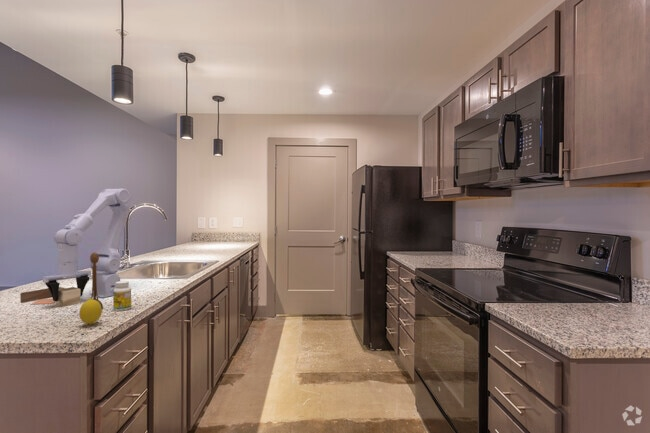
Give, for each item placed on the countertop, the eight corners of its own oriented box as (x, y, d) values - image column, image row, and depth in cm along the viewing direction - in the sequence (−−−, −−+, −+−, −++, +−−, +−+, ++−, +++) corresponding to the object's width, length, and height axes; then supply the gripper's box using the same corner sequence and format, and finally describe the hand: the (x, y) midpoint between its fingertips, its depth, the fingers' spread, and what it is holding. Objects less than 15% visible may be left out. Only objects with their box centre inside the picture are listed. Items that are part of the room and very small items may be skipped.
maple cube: (80, 303, 124) (80, 288, 124) (63, 307, 119) (63, 291, 119) (73, 301, 126) (72, 287, 126) (55, 305, 122) (55, 290, 122)
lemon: (86, 322, 104) (86, 296, 104) (105, 321, 104) (105, 296, 104) (75, 328, 98) (75, 301, 98) (94, 327, 99) (94, 301, 98)
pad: (62, 298, 130) (62, 297, 130) (52, 303, 123) (52, 302, 123) (40, 299, 128) (40, 299, 128) (30, 304, 121) (30, 304, 121)
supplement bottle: (134, 307, 119) (134, 281, 119) (121, 312, 114) (121, 284, 114) (123, 306, 121) (123, 279, 120) (109, 310, 116) (109, 282, 115)
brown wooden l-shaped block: (75, 299, 128) (75, 290, 128) (36, 307, 118) (36, 297, 118) (58, 295, 134) (58, 286, 134) (20, 302, 124) (20, 292, 124)
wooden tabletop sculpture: (86, 308, 118) (85, 251, 117) (101, 306, 121) (101, 251, 120) (87, 312, 113) (86, 253, 113) (103, 310, 116) (103, 252, 115)
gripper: (84, 258, 131) (84, 292, 131) (38, 263, 118) (38, 301, 118) (93, 259, 127) (93, 295, 127) (47, 265, 115) (48, 304, 115)
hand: (68, 298), depth 123 cm, fingers open, 7 cm apart
